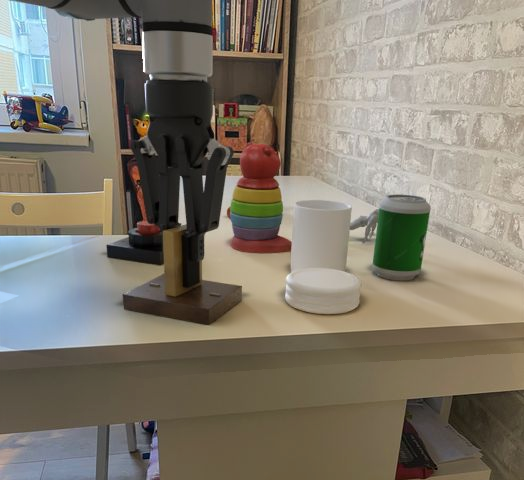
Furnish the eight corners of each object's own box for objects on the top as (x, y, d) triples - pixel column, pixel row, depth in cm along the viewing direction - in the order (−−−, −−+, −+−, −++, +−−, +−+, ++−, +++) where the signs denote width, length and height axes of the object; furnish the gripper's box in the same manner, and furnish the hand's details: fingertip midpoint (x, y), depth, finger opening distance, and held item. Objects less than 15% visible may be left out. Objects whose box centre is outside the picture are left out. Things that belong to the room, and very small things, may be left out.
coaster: (372, 311, 73) (376, 286, 71) (302, 318, 69) (304, 292, 68) (338, 288, 81) (340, 264, 80) (274, 293, 78) (275, 269, 76)
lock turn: (175, 297, 69) (173, 230, 66) (165, 294, 70) (162, 228, 66) (202, 284, 74) (201, 222, 71) (192, 282, 75) (191, 220, 71)
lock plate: (123, 309, 70) (122, 292, 69) (164, 287, 79) (163, 272, 78) (208, 325, 67) (208, 308, 66) (242, 300, 75) (242, 284, 74)
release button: (133, 234, 92) (132, 223, 91) (145, 230, 95) (144, 219, 94) (152, 236, 91) (151, 226, 90) (163, 232, 94) (163, 222, 93)
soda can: (416, 284, 84) (429, 203, 79) (367, 278, 86) (376, 198, 81) (421, 271, 91) (433, 196, 86) (375, 266, 93) (384, 192, 88)
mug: (334, 261, 95) (340, 196, 90) (350, 282, 84) (358, 210, 79) (283, 260, 94) (287, 195, 89) (294, 282, 83) (298, 209, 79)
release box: (107, 257, 92) (105, 233, 90) (140, 244, 100) (139, 222, 99) (160, 265, 88) (159, 241, 87) (190, 251, 97) (189, 228, 95)
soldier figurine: (330, 252, 110) (390, 237, 104) (323, 225, 108) (383, 209, 102) (339, 245, 115) (396, 231, 109) (332, 219, 113) (390, 204, 108)
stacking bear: (297, 250, 100) (303, 145, 93) (250, 257, 95) (253, 146, 88) (263, 237, 108) (266, 140, 101) (218, 243, 103) (218, 141, 96)
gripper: (253, 82, 62) (248, 285, 71) (147, 79, 68) (155, 267, 78) (217, 79, 56) (217, 302, 65) (104, 76, 62) (119, 280, 71)
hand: (183, 282), depth 71 cm, fingers closed on lock turn, 2 cm apart
